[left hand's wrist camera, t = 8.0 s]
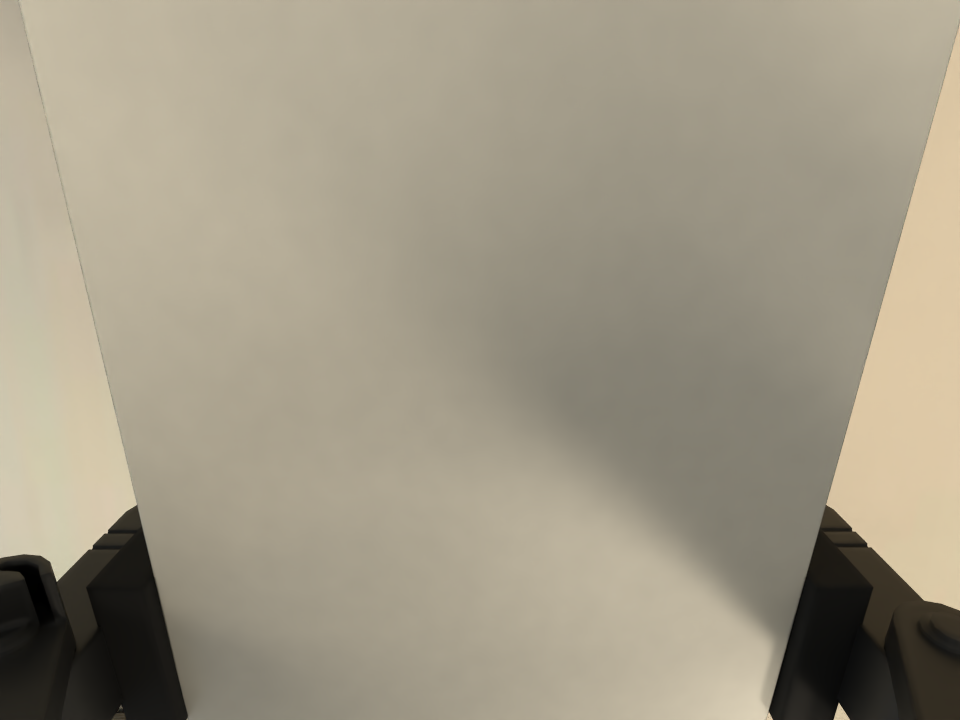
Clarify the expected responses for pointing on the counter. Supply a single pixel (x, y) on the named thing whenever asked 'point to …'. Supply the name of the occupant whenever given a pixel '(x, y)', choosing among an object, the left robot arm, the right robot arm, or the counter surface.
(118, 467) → the counter surface
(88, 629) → the left robot arm
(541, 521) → the wide beam
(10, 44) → the counter surface
